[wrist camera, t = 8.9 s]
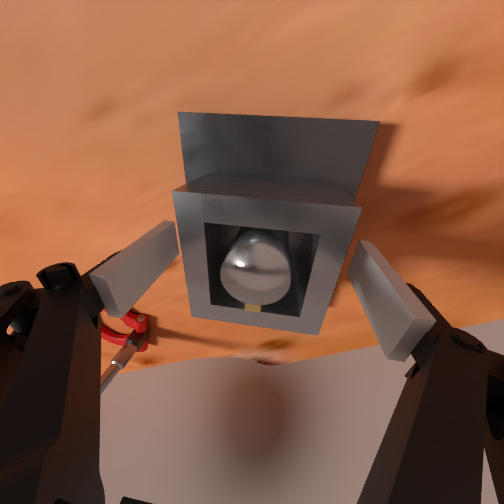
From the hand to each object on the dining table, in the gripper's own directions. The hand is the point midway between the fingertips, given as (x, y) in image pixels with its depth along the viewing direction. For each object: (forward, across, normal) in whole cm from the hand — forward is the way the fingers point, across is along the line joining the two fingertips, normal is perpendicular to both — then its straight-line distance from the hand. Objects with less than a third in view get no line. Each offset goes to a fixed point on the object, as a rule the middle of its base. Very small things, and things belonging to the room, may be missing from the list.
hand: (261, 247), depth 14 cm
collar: (+2, 0, 0) cm, 2 cm away
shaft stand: (+3, 0, 0) cm, 3 cm away
